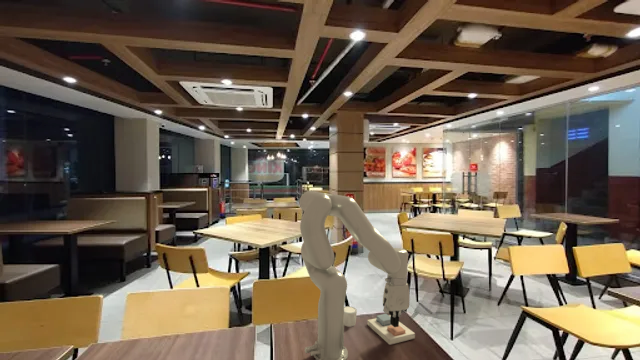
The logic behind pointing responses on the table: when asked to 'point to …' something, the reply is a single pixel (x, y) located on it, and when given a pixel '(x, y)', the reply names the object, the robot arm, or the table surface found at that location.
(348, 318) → the shot glass
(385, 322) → the key slate
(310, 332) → the table surface
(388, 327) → the key terracotta
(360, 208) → the robot arm
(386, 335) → the board
